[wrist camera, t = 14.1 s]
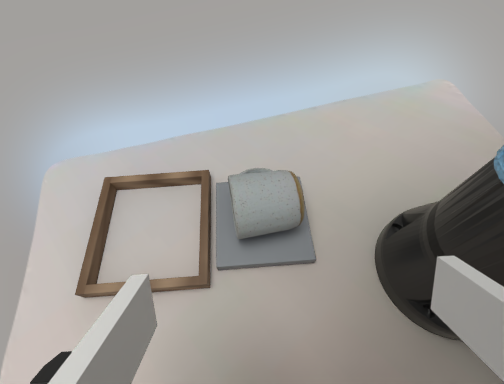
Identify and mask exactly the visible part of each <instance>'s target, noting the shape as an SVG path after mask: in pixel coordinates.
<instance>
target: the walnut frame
mask: <svg viewBox="0 0 504 384" xmlns="http://www.w3.org/2000/svg"><path fill="white" fill-rule="evenodd" d="M193 184H201V218H200V252H199V276H192V277H179V278H167V279H154V280H150V286H151V292H161V291H174V290H186V289H199V288H210V233H211V176H210V172H209V170H202V171H188V172H174V173H160V174H147V175H133V176H119V177H105V179H104V182H103V186H102V190H101V194H100V198H99V202H98V206H97V210H96V214H95V218H94V222H93V226H92V230H91V234H90V238H89V242H88V245H87V249H86V253H85V257H84V261H83V265H82V269H81V273H80V277H79V281H78V285H77V289H76V293H75V295H78V296H81V297H85V298H86V297H99V296H111V295H116V294H117V293H118V292H119V290H120V289H121V288H122V287H123V285H124V284H125V283H126V282H116V283H103V284H96V283H97V278H98V274H99V269H100V265H101V260H102V255H103V251H104V246H105V242H106V237H107V233H108V228H109V224H110V219H111V214H112V210H113V205H114V201H115V196H116V192H117V190H125V189H138V188H152V187H166V186H179V185H193Z"/></svg>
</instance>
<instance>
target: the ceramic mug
mask: <svg viewBox="0 0 504 384" xmlns="http://www.w3.org/2000/svg"><path fill="white" fill-rule="evenodd" d="M228 184H229V191H230V199H231V206H232V212H233V219H234V225H235V231H236V236H237V238H238V239H244V238H248V237H254V236H259V235H264V234H269V233H273V232H279V231H285V230H289V229H292V228H295V227H297V226H299V225H300V224H301V222H302V221H303V218H304V211H305V206H304V197H303V192H302V188H301V185H300V182H299V180H298V178H297V177H296V175H295V174H294V173H292V172H290V171H283V170H278V171H273V170H270V169H265V168H254V169H249V170H246V171H243V172H242V173H240V174H238V175H230V176H228Z"/></svg>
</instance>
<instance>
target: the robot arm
mask: <svg viewBox="0 0 504 384" xmlns="http://www.w3.org/2000/svg"><path fill="white" fill-rule="evenodd" d="M375 262H376V268H377V272H378V275H379V278H380V281H381V283H382V285H383V287H384V289H385V291H386V292H387V294H388V296H389V297H390V298H391V300H392V301H393V302H394V304H395V305H396V306H397V307H398V308H399V309H400V310H401V311H402V312H403V313H404V314H405V315H406V316H407V317H408V318H409V319H411V320H412V321H413V322H415V323H416V324H418V325H419V326H421V327H423V328H424V329H426V330H428V331H430V332H432V333H435V334H437V335H440V336H443V337H446V338H451V339H458V340H462V341H463V342H464V343H465V344H466V345H467V346H468V347H469V348H470V349H471V350H472V351H473V352H474V353H475V354H476V355H477V356H478V357H479V358H480V359H481V360H482V361H483V362H484V363H485V364H486V365H487V366H488V367H489V368H490V369H491V370H492V371H493V372H494V373H495V374H496V375H497V376H498V377H499V378H500V379H501V380H502V381H503V382H504V145H503V146H502V147H501V148H500V149H499V150H498V151H497V155H496V157H494V158H493V159H492V160H491V161H489V162H488V163H487V164H486V165H484V166H483V167H482V168H481V169H479V170H478V171H477V172H475V173H474V174H473V175H472V176H470V177H469V178H468V179H467V180H465V181H464V182H463V183H462V184H460V185H459V186H458V187H456V188H455V189H454V190H453V191H451V192H450V193H449V194H448V195H446V196H445V197H444V198H443V199H442V200H440V201H439V202H435V203H431V204H427V205H424V206H420V207H416V208H413V209H410V210H407V211H405V212H403V213H401V214H400V215H398V216H397V217H395V218H394V219H393V220H392V221H391V222H390V223H389V224H388V225H387V226H386V227H385V228H384V229H383V231H382V232H381V234H380V236H379V238H378V240H377V244H376V249H375ZM156 327H157V321H156V315H155V309H154V303H153V298H152V292H151V286H150V280H149V274H138V275H131V276H130V277H129V279H128V280H127V281H126V283H125V284H124V285H123V287H122V288H121V289H120V290H119V292H118V293H117V294H116V296H115V297H114V298H113V300H112V301H111V302H110V303H109V305H108V306H107V307H106V309H105V310H104V311H103V313H102V314H101V315H100V316H99V318H98V319H97V320H96V322H95V323H94V324H93V326H92V327H91V328H90V329H89V331H88V332H87V333H86V335H85V336H84V337H83V339H82V340H81V341H80V342H79V344H78V345H77V346H76V348H75V349H74V350H73V351H70V352H61V353H60V354H58V355H57V356H56V357H55V358H53V359H52V360H51V361H50V362H48V363H47V364H46V365H45V366H44V367H43V368H42V369H41V370H40V371H39V373H38V374H37V375H36V376H35V377H34V378H33V380H32V381H31V382H30V384H131V383H132V380H133V378H134V376H135V374H136V372H137V369H138V367H139V365H140V363H141V360H142V358H143V356H144V354H145V351H146V349H147V347H148V345H149V343H150V340H151V338H152V336H153V334H154V331H155V329H156Z"/></svg>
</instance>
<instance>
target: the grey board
mask: <svg viewBox="0 0 504 384" xmlns="http://www.w3.org/2000/svg"><path fill="white" fill-rule="evenodd" d="M297 178H298V180H299V182H300V185H301V181H300V177H297ZM301 188H302V186H301ZM302 192H303V191H302ZM303 197H304V196H303ZM304 206H305V201H304ZM216 258H217V269H218V270H228V269H241V268H254V267H266V266H279V265H292V264H304V263H314V262H315V260H316V257H315V252H314V247H313V242H312V237H311V232H310V227H309V222H308V217H307V212H306V207H305V211H304V218H303V221H302V222H301V224H300V225H299V226H297V227H295V228H292V229H289V230H285V231H279V232H273V233H269V234H264V235H259V236H254V237H248V238H244V239H238V238H237V236H236V231H235V225H234V219H233V212H232V206H231V199H230V191H229V184H228V182H222V183H216Z"/></svg>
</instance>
